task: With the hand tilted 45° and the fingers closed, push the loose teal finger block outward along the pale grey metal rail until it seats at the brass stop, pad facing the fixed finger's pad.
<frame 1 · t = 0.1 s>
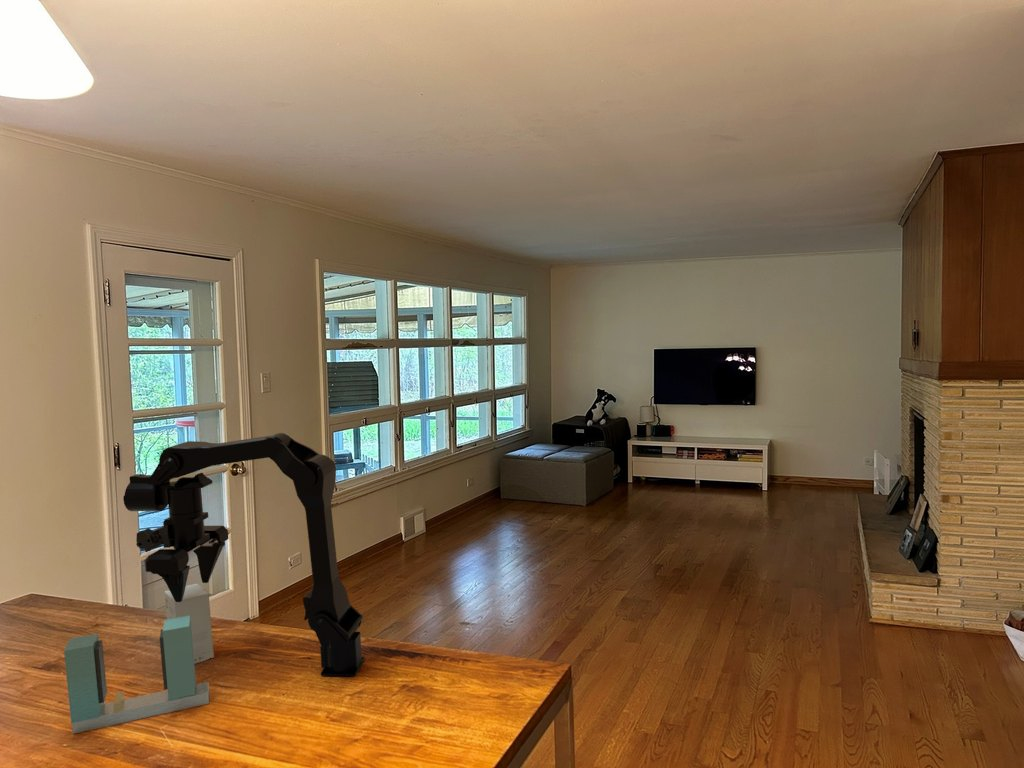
hand: (192, 591, 131), 15 cm above the table, tool pointing down, fingers open, 9 cm apart
loose finger: (177, 657, 119), point 8 cm above the table, slide at 0.0 cm
small box: (191, 657, 137), on the table
rail: (144, 712, 118), on the table
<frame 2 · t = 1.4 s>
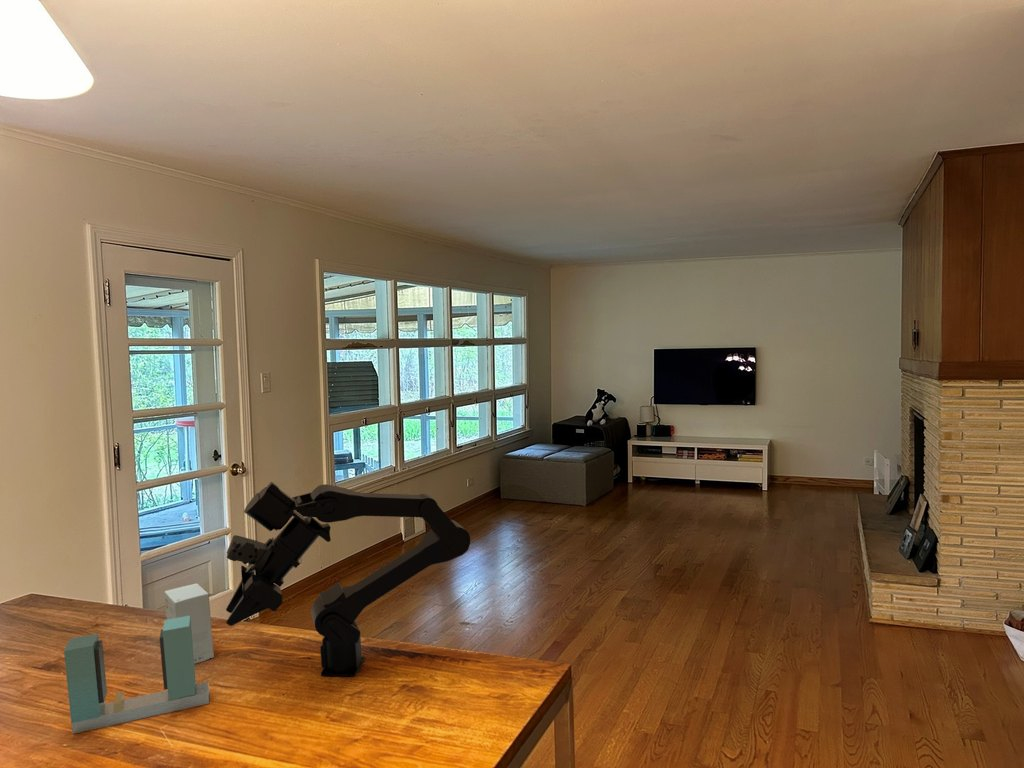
hand: (228, 617, 122), 14 cm above the table, tool tilted 45°, fingers open, 6 cm apart
nothing on the table moved.
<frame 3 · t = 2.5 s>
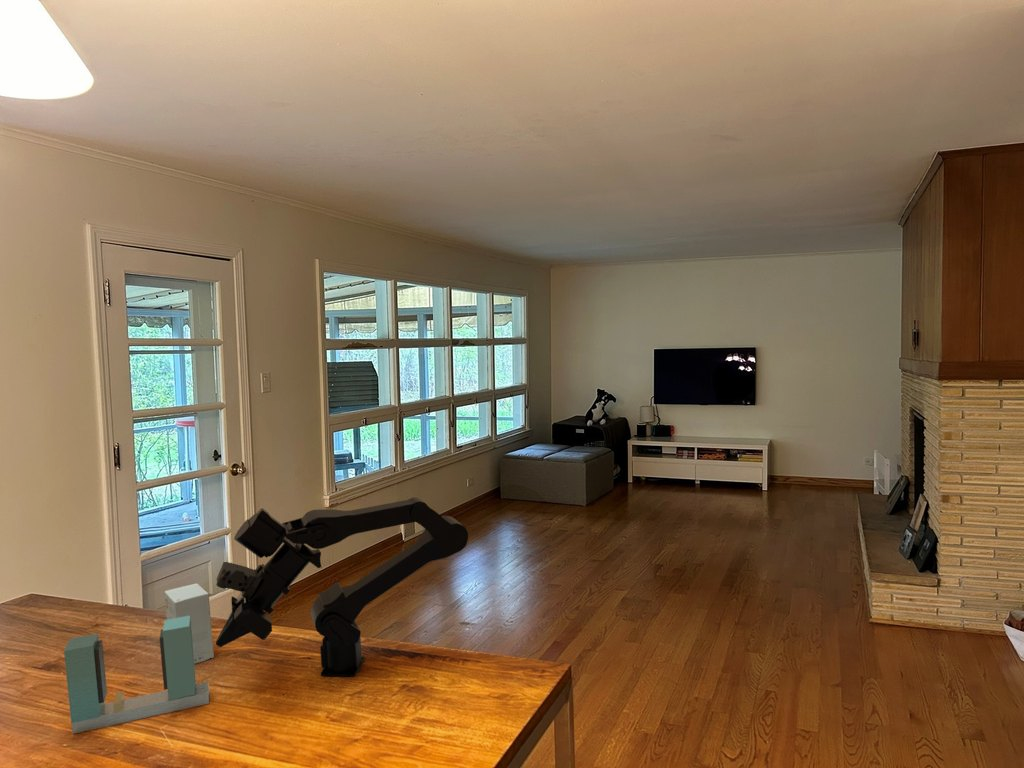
hand: (217, 645, 121), 9 cm above the table, tool tilted 45°, fingers closed
nothing on the table moved.
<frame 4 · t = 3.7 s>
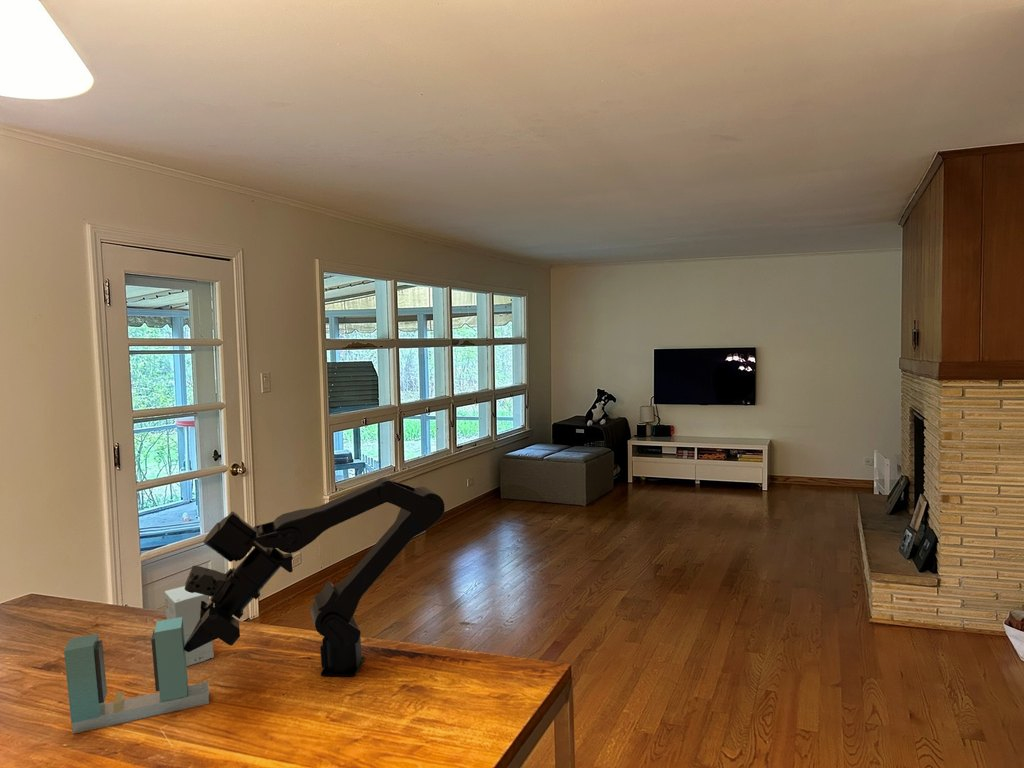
hand: (186, 650, 119), 9 cm above the table, tool tilted 45°, fingers closed, pressing on loose finger
loose finger: (169, 659, 119), point 8 cm above the table, slide at 1.2 cm, touching gripper
everything else where it was.
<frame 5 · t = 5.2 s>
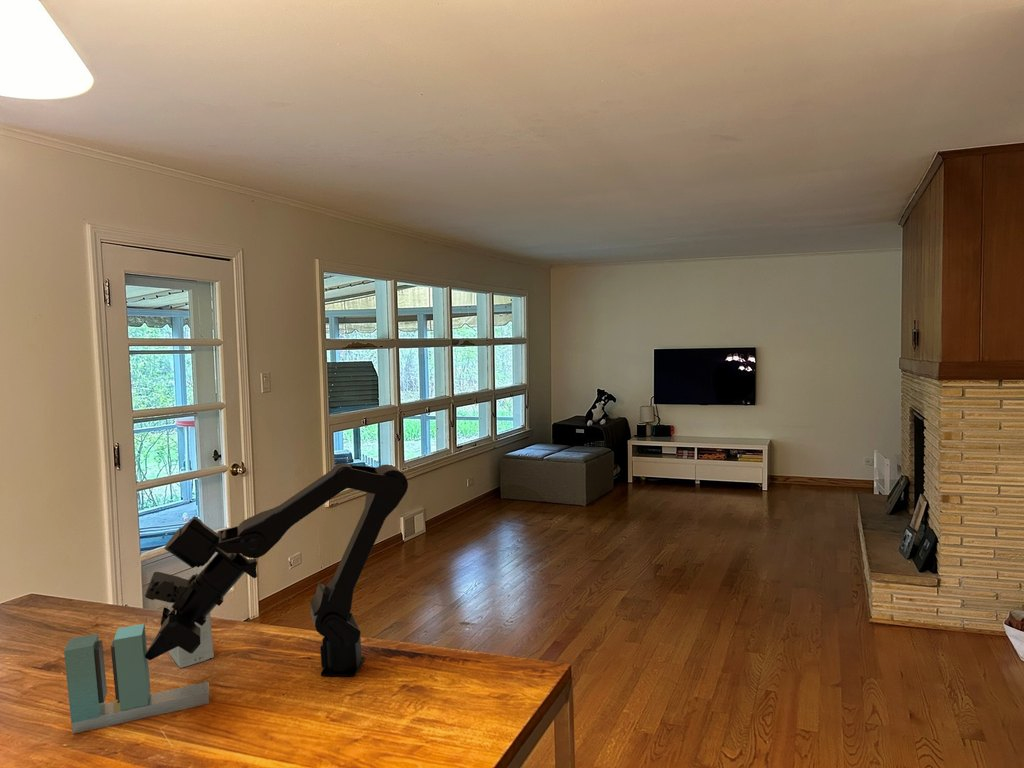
hand: (147, 657, 117), 9 cm above the table, tool tilted 45°, fingers closed, pressing on loose finger
loose finger: (130, 666, 116), point 8 cm above the table, slide at 7.1 cm, touching gripper
everything else where it was.
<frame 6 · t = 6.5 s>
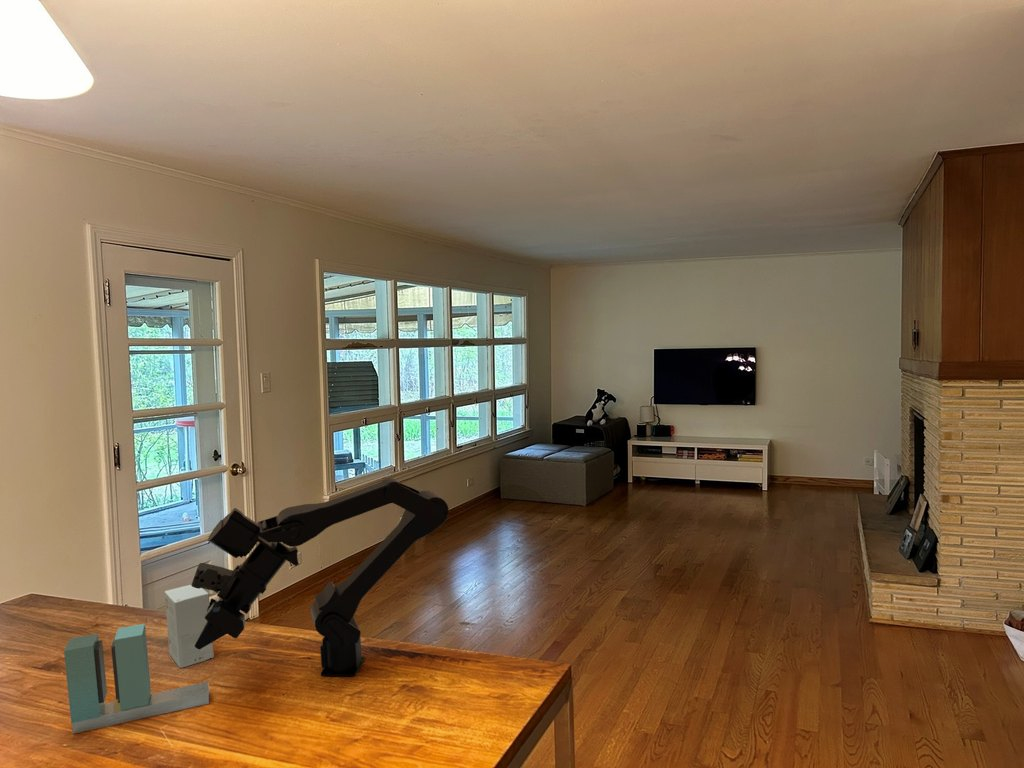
hand: (196, 647, 120), 9 cm above the table, tool tilted 40°, fingers closed
loose finger: (131, 666, 116), point 8 cm above the table, slide at 7.0 cm
everything else where it was.
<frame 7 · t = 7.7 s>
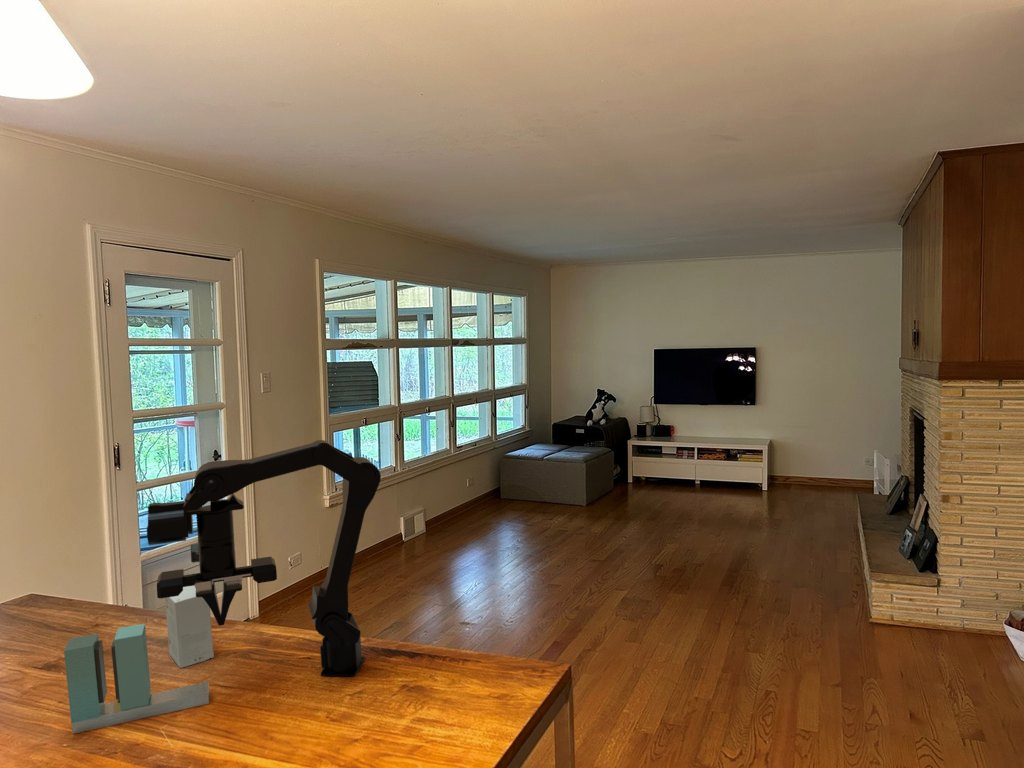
hand: (221, 624, 121), 13 cm above the table, tool pointing down, fingers closed
nothing on the table moved.
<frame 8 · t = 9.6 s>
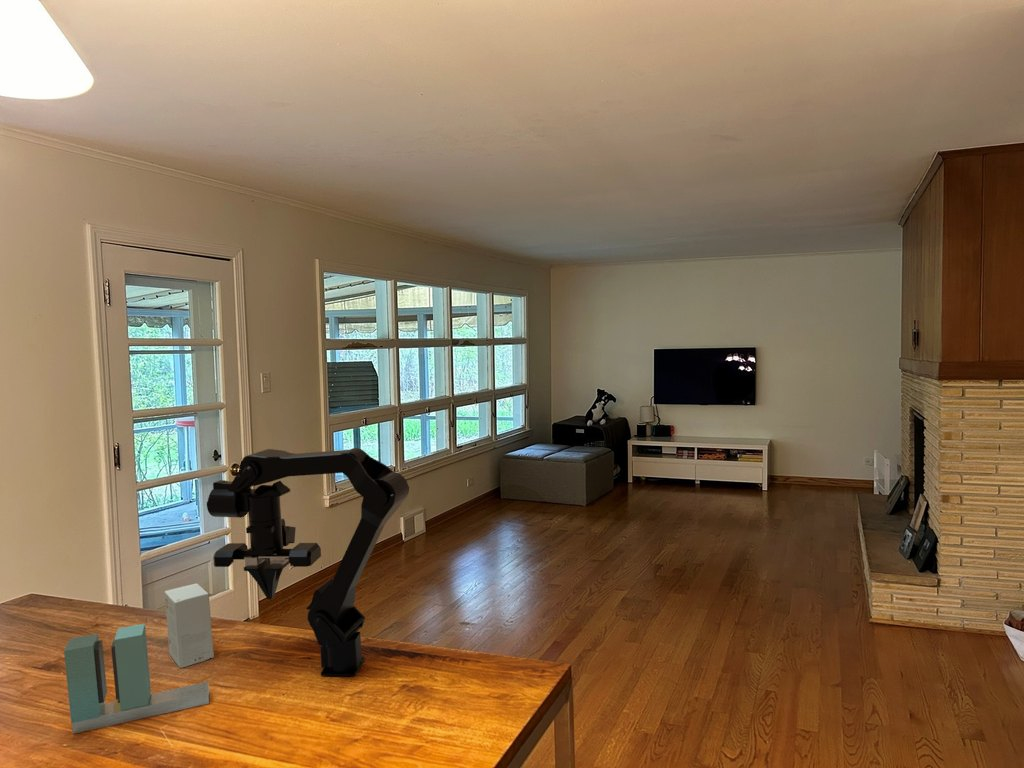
hand: (270, 598, 132), 13 cm above the table, tool pointing down, fingers closed
nothing on the table moved.
at the end: loose finger slide at 7.0 cm; the gripper is holding nothing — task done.
